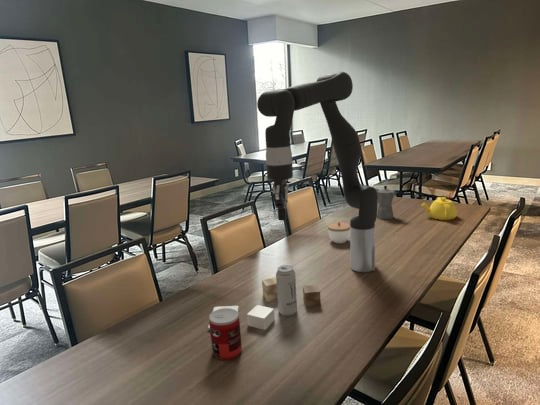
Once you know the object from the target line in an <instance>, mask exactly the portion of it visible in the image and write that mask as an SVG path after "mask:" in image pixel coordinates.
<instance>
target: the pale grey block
mask: <svg viewBox="0 0 540 405" xmlns="http://www.w3.org/2000/svg"><path fill="white" fill-rule="evenodd" d="M246 316H247V326H248V327H252V328H255V329H260V330H263V331H266V330H268V327H270V326H271V325H272V324H273V322H274V321H276V320H275V319H276V318H275V308H273V307H267V306H264V305H259V304H257V305H255V306H254V307H253V308H252V309H251V310H250V311H249V312H248V313H246Z"/></svg>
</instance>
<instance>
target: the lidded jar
mask: <svg viewBox="0 0 540 405" xmlns="http://www.w3.org/2000/svg"><path fill="white" fill-rule="evenodd" d="M327 231H328V232H327V234H328V236H329V238H330V240H331V241H332V242H333V243H334V242H335V244H345V243H346V242H347V241H348V239H350V223H346V222H332V223H329V224H328V225H327Z"/></svg>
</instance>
